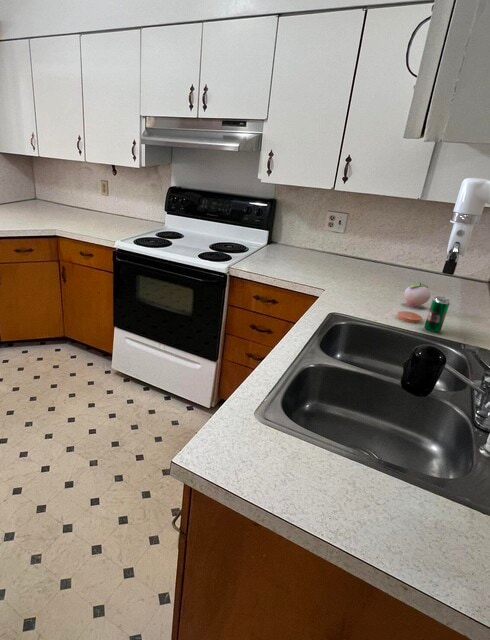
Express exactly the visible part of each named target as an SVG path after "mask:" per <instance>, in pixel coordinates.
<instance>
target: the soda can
mask: <svg viewBox="0 0 490 640" xmlns="http://www.w3.org/2000/svg"><path fill="white" fill-rule="evenodd" d="M449 307H450V299H449V298H447V297H444V296H440V295H439V296H438V295H437V296H434V298H432V301H431V304H430V308H429V309H428V313H427V316H426V320H425V322H424V326H423V327H424V330H425V331H427V332H429V333H433V334H438V333H440V332H441V331H442V328H443V325H444V323H445V319H446V317H447V313H448V311H449Z"/></svg>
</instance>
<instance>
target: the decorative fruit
mask: <svg viewBox="0 0 490 640" xmlns="http://www.w3.org/2000/svg"><path fill="white" fill-rule="evenodd" d="M431 293H432V292H431V290H430V289H429V286H428V285H427V284H426V285H425V284H422V282H419V284H412V285H410V286H407V288H406V289H405V291H404V293H403V295H404V298H405V300H406V302H407V303H408V304H409V305H411V306H412V307H416V306H421V305H424V304H426V303H428V302H429V300H430V298H431Z"/></svg>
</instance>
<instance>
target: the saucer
mask: <svg viewBox="0 0 490 640" xmlns="http://www.w3.org/2000/svg"><path fill="white" fill-rule="evenodd" d="M396 317H397V319H398V320H400V321H402V322H406V323H409V324H420V323H422V320H423V317H422V316H421V315H420V314H418V313H415V312H412V311H406V310H401V311H398V312H397V315H396Z"/></svg>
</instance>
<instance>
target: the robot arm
mask: <svg viewBox="0 0 490 640" xmlns="http://www.w3.org/2000/svg"><path fill="white" fill-rule="evenodd" d="M486 204H487V205H490V179H487V178H479V177H466V178H464V179H463V180H462V182H461V185H460V189H459V191H458V194H457V198H456V200H455V204H454V208H453V210H452V214H451V217H450V220H449V222H450V223H452V224H453V225H452V229H451V232H450V236H449V238H448V243H447V244H448V245H447V250H446V254H447V256H446V259H445V262H444V265H443V268H442V270H441V271H442V274H444V275H450V276H453V275H455V272H456V268H457V265H458V261H459V256H461V257H462V258H463V257H465V255H466V251H467V248H468V246H469V244H470V239H471V236H472V233H473V230H474V227H477V226H479V223H480V220H481V217H482V214H483V212H484V208H485V207H486V206H485V205H486Z"/></svg>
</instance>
